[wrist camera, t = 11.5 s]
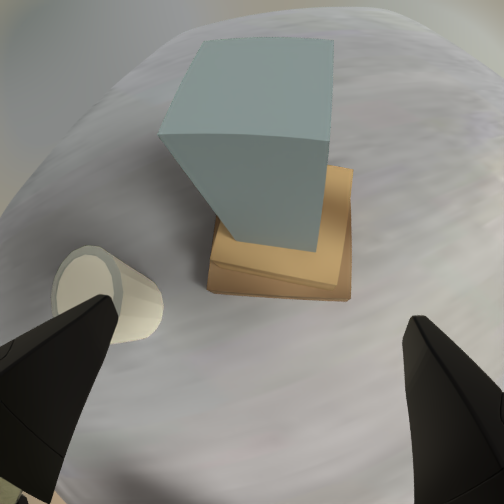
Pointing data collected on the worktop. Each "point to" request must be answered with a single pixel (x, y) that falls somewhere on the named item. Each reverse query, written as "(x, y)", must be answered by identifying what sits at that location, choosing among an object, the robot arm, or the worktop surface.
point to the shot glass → (108, 291)
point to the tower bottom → (271, 288)
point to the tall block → (257, 135)
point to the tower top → (290, 260)
